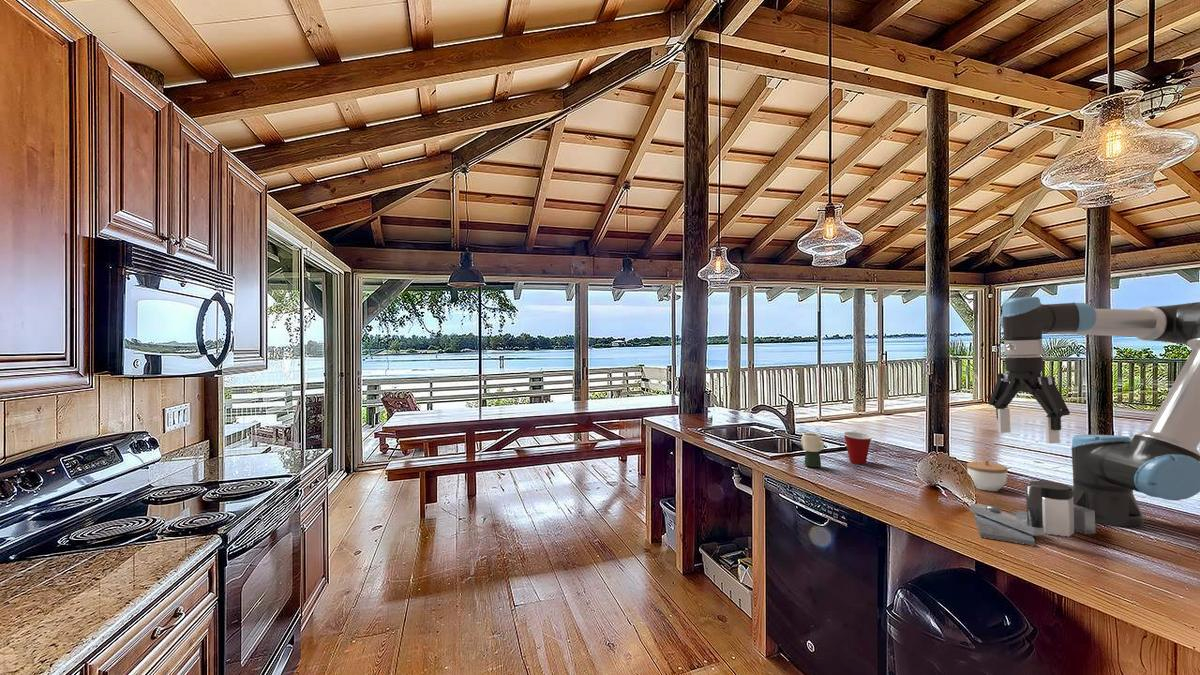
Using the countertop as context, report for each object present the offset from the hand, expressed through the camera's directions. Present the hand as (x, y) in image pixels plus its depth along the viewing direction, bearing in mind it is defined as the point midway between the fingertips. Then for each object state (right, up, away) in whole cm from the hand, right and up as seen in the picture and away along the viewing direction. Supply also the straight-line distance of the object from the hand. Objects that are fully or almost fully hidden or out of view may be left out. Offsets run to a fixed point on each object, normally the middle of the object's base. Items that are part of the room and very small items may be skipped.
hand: (1027, 437), depth 124 cm
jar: (+8, -25, +2) cm, 26 cm away
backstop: (+14, -25, +3) cm, 29 cm away
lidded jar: (+19, -25, +37) cm, 49 cm away
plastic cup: (-5, -26, +72) cm, 77 cm away
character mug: (-26, -26, +68) cm, 78 cm away
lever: (-2, -24, +4) cm, 24 cm away
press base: (-3, -25, +4) cm, 26 cm away
